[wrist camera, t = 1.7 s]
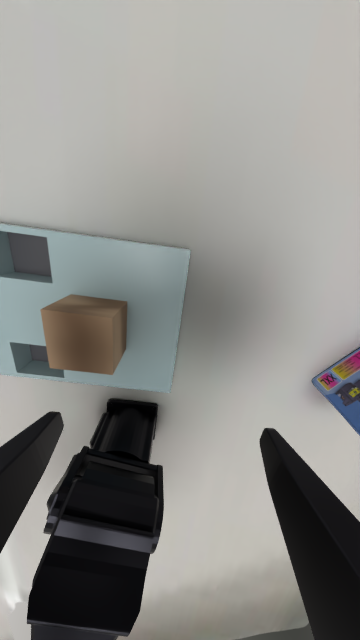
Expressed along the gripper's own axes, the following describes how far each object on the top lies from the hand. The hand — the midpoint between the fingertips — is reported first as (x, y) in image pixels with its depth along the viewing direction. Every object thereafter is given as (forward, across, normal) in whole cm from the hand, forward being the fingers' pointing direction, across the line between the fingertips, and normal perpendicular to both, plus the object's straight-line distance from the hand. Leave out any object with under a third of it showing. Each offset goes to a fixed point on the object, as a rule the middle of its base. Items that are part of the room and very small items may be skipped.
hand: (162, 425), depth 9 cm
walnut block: (+10, +7, +1) cm, 13 cm away
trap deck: (+13, +11, +1) cm, 17 cm away
